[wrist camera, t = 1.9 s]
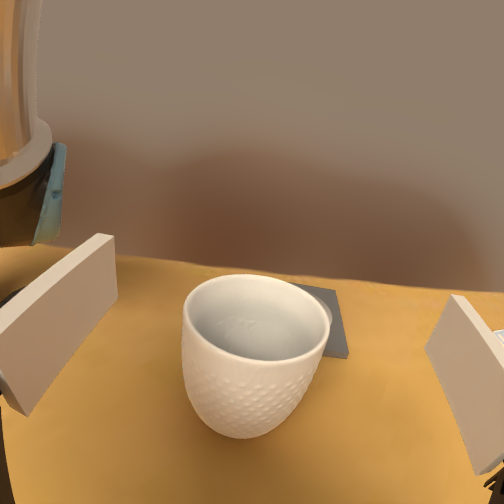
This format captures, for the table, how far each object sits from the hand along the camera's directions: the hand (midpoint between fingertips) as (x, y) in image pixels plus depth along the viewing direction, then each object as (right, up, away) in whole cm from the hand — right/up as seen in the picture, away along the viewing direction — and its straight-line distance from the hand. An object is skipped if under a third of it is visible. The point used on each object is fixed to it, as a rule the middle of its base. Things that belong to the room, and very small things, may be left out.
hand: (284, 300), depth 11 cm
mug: (-2, -14, +18) cm, 23 cm away
